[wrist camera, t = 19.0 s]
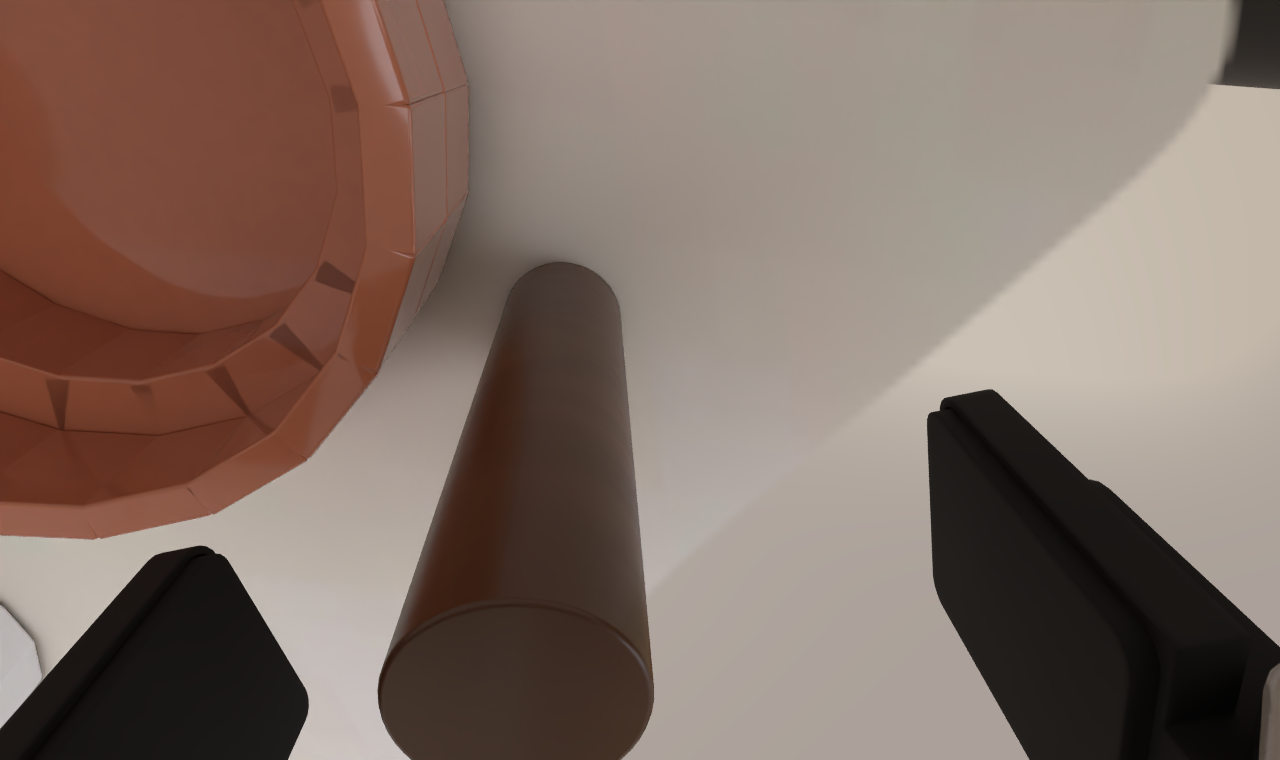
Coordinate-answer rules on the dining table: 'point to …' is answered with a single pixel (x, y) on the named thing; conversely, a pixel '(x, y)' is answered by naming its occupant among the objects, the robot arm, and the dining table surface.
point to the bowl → (208, 240)
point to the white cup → (16, 666)
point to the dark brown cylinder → (532, 552)
